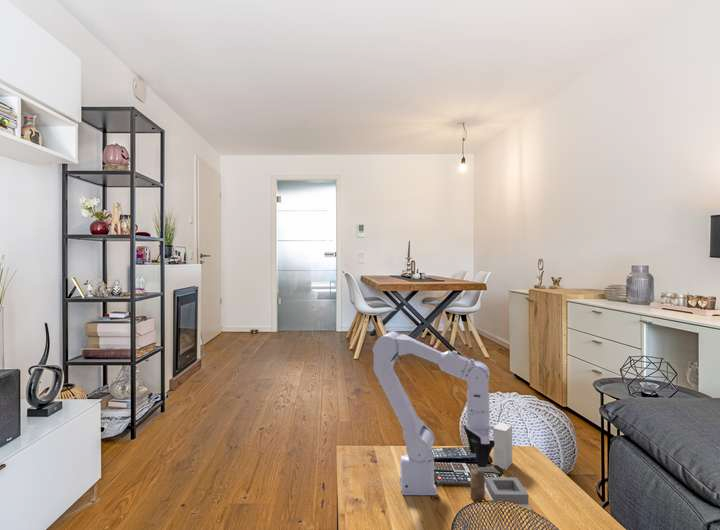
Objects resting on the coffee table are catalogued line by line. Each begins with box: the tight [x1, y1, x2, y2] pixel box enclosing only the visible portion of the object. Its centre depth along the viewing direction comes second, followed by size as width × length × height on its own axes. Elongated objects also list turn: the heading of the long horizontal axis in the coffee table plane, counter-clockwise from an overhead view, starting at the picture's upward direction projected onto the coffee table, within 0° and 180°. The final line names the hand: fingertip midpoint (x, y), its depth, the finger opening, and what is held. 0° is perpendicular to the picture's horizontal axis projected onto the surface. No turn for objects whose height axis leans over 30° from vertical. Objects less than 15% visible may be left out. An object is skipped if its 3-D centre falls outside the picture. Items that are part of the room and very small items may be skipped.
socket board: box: [485, 476, 533, 511], centre depth 113 cm, size 9×12×4 cm
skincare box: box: [492, 422, 513, 471], centre depth 132 cm, size 6×4×12 cm
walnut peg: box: [470, 468, 486, 502], centre depth 113 cm, size 4×4×7 cm
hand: (478, 459), depth 113 cm, fingers open, 7 cm apart
